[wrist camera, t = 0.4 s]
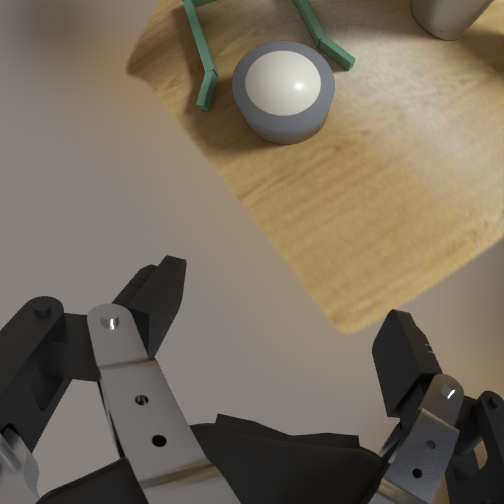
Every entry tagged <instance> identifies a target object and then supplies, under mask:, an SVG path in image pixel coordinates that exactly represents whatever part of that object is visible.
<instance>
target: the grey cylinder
mask: <svg viewBox="0 0 504 504" xmlns="http://www.w3.org/2000/svg"><path fill="white" fill-rule="evenodd" d="M334 90H335V82H334V76H333V73H332V70H331V68H330V66H329V65H328V63H327V62H326V60H325V59H324V58H323V57H322V56H321V55H320V54H319V53H318V52H316V51H315V50H313V49H312V48H310V47H308V46H306V45H303V44H301V43H297V42H292V41H273V42H268V43H265V44H262V45H260V46H257V47H256V48H254V49H252V50H251V51H249V52H248V53H247V54H246V55H245V56H244V57H243V58H242V59H241V60H240V61H239V63H238V65H237V66H236V68H235V71H234V73H233V77H232V92H233V96H234V99H235V102H236V103H237V105H238V107H239V109H240V111H241V112H242V114H243V116H244V118H245V120H246V122H247V123H248V125H249V126H250V128H251V129H252V130H253V131H254V132H255V133H256V134H257V135H258V136H260V137H261V138H263V139H265V140H267V141H269V142H272V143H276V144H284V145H289V144H296V143H300V142H303V141H305V140H308V139H309V138H311V137H312V136H314V135H315V134H316V133H317V132H318V131H319V130H320V129H321V128H322V126H323V125H324V123H325V121H326V118H327V115H328V112H329V108H330V105H331V102H332V99H333V95H334Z"/></svg>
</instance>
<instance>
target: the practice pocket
mask: <svg viewBox="0 0 504 504" xmlns="http://www.w3.org/2000/svg"><path fill="white" fill-rule="evenodd" d="M182 1H183V4H184V7H185V11H186V14H187V17H188V20H189V23H190V26H191V29H192V32H193V35H194V38H195V42H196V45H197V48H198V51H199V54H200V57H201V60H202V63H203V67H204V70H205V76H204V79H203V82H202V86H201V89H200V93H199V96H198V100H197V103H196V105H197V106H198V107H199V108H200V109H201V110H202V111H209V108H210V105H211V101H212V97H213V94H214V90H215V87H216V83H217V80H218V78H217V77H218V73H217V70H216V67H215V64H214V61H213V58H212V55H211V52H210V49H209V47H208V44H207V41H206V38H205V35H204V32H203V29H202V26H201V23H200V20H199V17H198V14H197V12H196V9H195V8H196V7H199V6H201V5H204V4H207V3H210V2H213V1H216V0H182ZM293 1H294V2H295V4H296V6H297V8H298V10H299V12H300V14H301V16H302V17H303V19H304V21H305V23H306V25H307V27H308V29H309V31H310V33H311V35H312V37H313V40H314V42H315V44H316V46H317V48H319V49H320V50H321V51H323V52H324V53H325V54H327V55H328V56H329V57H331V58H332V59H333V60H335V61H336V62H337V63H339V64H340V65H341V66H342V67H344V68H345V69H346V70H348V71H349V70H350V69H351V68H352V67H353V65H354V62H355V58H354V57H353V56H351V55H350V54H349V53H347V52H346V51H345V50H344V49H342V48H341V47H339V46H338V45H337V44H335V43H334V42H333V41H331V40H330V39H328V38H327V36H326V34H325V32H324V30H323V28H322V26H321V25H320V23H319V21H318V19H317V17H316V15H315V13H314V11H313V10H312V8H311V6H310V4H309V2H308V1H307V0H293Z"/></svg>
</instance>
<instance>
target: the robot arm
mask: <svg viewBox="0 0 504 504" xmlns="http://www.w3.org/2000/svg"><path fill="white" fill-rule="evenodd" d="M493 1H494V0H413V2H412V6H411V9H412V13H413V15H414V17H415V19H416V20H417V22H418V23H419V24H420V25H421V26H422V27H423V28H424V29H425V30H426V31H427V32H429V33H430V34H432V35H434V36H436V37H438V38H440V39H443V40H448V41H453V40H457V39H459V38H460V37H461V36H462V35H463V34H464V33H465V32H466V31H467V30H468V28H469V27H470V26H471V25H472V24H473V23H474V22H475V21H476V20H477V19H478V18H479V17H480V15H481V14H482V13H483V12H484V11H485V10H486V9H487V8H488V7H489V5H490V4H491V3H492V2H493ZM186 264H187V263H186V260H184V259H180V258H176V257H172V256H168V255H167V256H166V257H165V258H164V259H163V260H162V262H161V263H160V264H159V265H158V266H155V265H148V266H146V267H144V268H142V269H140V270H139V271H138V272H137V274H136V275H135V276H134V278H132V280H130V282H129V284H127V285H126V286H125V288H124V289H123V290H122V291H121V292H120V294H119V295H118V296H117V297H116V298H115V300H114V301H113V302H112V303H111V304H102V305H99V306H96V307H94V308H93V309H92V310H91V311H90V312H89V313H88V315H79V314H70V313H64V309H63V305H62V303H61V302H60V301H59V300H57V299H56V298H53V297H48V296H42V297H36V298H33V299H31V300H30V301H28V302H27V303H26V304H25V305H24V306H23V307H22V308H21V309H20V310H19V311H18V312H17V313H16V314H15V315H14V316H13V317H12V319H11V320H10V321H9V322H8V323H7V324H6V325H5V326H4V327H3V328H2V329H1V331H0V504H431V502H432V500H433V498H434V496H435V494H436V492H437V490H438V487H439V485H440V483H441V481H442V478H443V476H444V474H445V478H446V484H447V489H448V495H449V501H450V504H504V400H503V399H502V398H501V397H500V396H499V395H498V394H496V393H494V392H492V391H484V392H483V393H482V394H481V395H480V397H479V398H478V399H477V400H476V399H473V398H471V397H468V396H465V395H464V390H463V388H462V386H461V385H460V383H459V382H458V381H457V380H455V379H454V378H453V377H451V376H448V375H446V374H443V373H442V370H441V368H440V366H439V364H438V361H437V360H436V357H435V355H434V353H433V351H432V348H431V346H429V342H428V340H427V338H426V336H425V335H424V333H422V331H421V330H420V329H419V328H418V327H416V324H415V322H414V321H413V318H412V316H411V314H410V313H408V312H403V311H398V310H394V309H392V310H391V311H390V312H389V313H388V315H387V317H386V319H385V321H384V323H383V325H382V327H381V328H380V330H379V332H378V334H377V337H376V338H375V340H374V343H373V347H372V355H373V359H374V363H375V367H376V371H377V374H378V379H379V382H380V387H381V391H382V395H383V399H384V403H385V408H386V412H387V417H397V418H400V422H399V423H398V424H397V425H396V426H395V428H394V429H393V431H392V433H391V434H390V436H389V437H388V439H387V440H386V442H385V443H384V445H383V447H382V448H381V449H380V451H379V452H378V454H376V453H374V452H372V451H370V450H368V449H366V448H363V447H361V446H360V445H359V437H358V436H355V435H344V434H334V433H319V434H309V435H298V436H297V435H296V436H292V435H287V434H285V433H282V432H279V431H277V430H274V429H272V428H269V427H267V426H264V425H261V424H259V423H257V422H254V421H250V420H245V419H240V418H236V417H231V416H227V415H222V414H218V415H217V418H216V422H215V423H202V424H195V425H188V423H187V421H186V419H185V417H184V415H183V413H182V411H181V410H180V408H179V406H178V404H177V402H176V400H175V398H174V395H173V393H172V391H171V389H170V387H169V385H168V384H167V381H166V379H165V377H164V375H163V372H162V370H161V368H160V366H159V364H158V362H157V360H156V359H155V358H154V357H155V355H156V353H157V351H158V349H159V347H160V345H161V343H162V341H163V339H164V337H165V336H166V333H167V332H168V330H169V327H170V326H171V324H172V322H173V320H174V318H175V316H176V314H177V312H178V310H179V308H180V305H181V301H182V296H183V289H184V280H185V273H186ZM72 379H77V380H85V381H95V382H97V386H98V390H99V394H100V397H101V401H102V404H103V408H104V411H105V414H106V418H107V421H108V424H109V427H110V431H111V435H112V438H113V442H114V445H115V448H116V451H117V453H118V456H119V460H117V461H116V462H113V463H111V464H109V465H107V466H105V467H103V468H101V469H99V470H97V471H95V472H92V473H90V474H88V475H86V476H84V477H81V478H79V479H77V480H75V481H72V482H70V483H68V484H65V485H63V486H61V487H58V488H56V489H53V490H51V491H49V492H48V493H46V494H45V495H43V496H42V497H41V498H40V497H39V495H38V492H37V481H38V477H39V467H38V464H37V462H36V460H35V458H34V457H33V455H32V452H33V450H34V448H35V446H36V444H37V442H38V441H39V438H40V437H41V435H42V433H43V431H44V429H45V427H46V425H47V423H48V422H49V420H50V418H51V416H52V414H53V412H54V411H55V409H56V407H57V405H58V403H59V402H60V400H61V398H62V396H63V395H64V393H65V391H66V389H67V388H68V386H69V384H70V382H71V381H72ZM482 440H483V441H484V444H485V448H486V451H487V456H488V458H487V462H486V464H485V465H484V467H483V468H482V469H480V470H479V467H478V463H477V459H476V456H475V452H474V448H475V447H476V446H477V445H478V444H479V443H480V442H481V441H482Z"/></svg>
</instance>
